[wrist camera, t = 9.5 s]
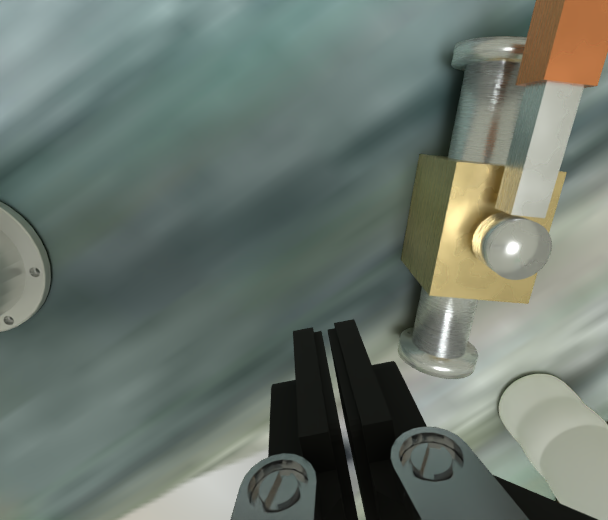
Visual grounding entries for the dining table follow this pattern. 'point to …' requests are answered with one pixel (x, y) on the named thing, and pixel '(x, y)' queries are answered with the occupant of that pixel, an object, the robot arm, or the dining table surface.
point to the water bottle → (560, 440)
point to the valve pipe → (464, 211)
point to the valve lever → (542, 130)
